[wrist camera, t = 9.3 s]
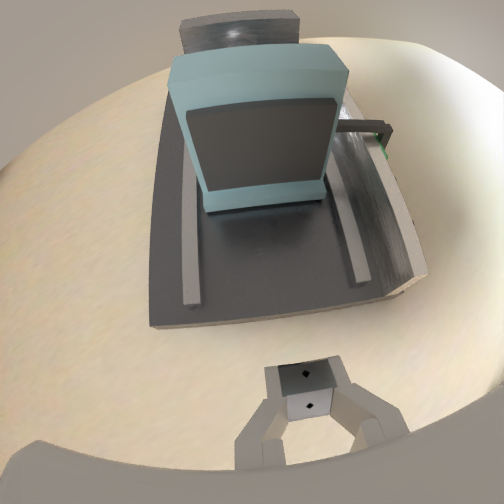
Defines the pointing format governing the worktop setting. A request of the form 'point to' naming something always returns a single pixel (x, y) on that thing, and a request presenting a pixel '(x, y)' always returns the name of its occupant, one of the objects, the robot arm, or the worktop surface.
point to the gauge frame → (275, 220)
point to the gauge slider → (262, 121)
